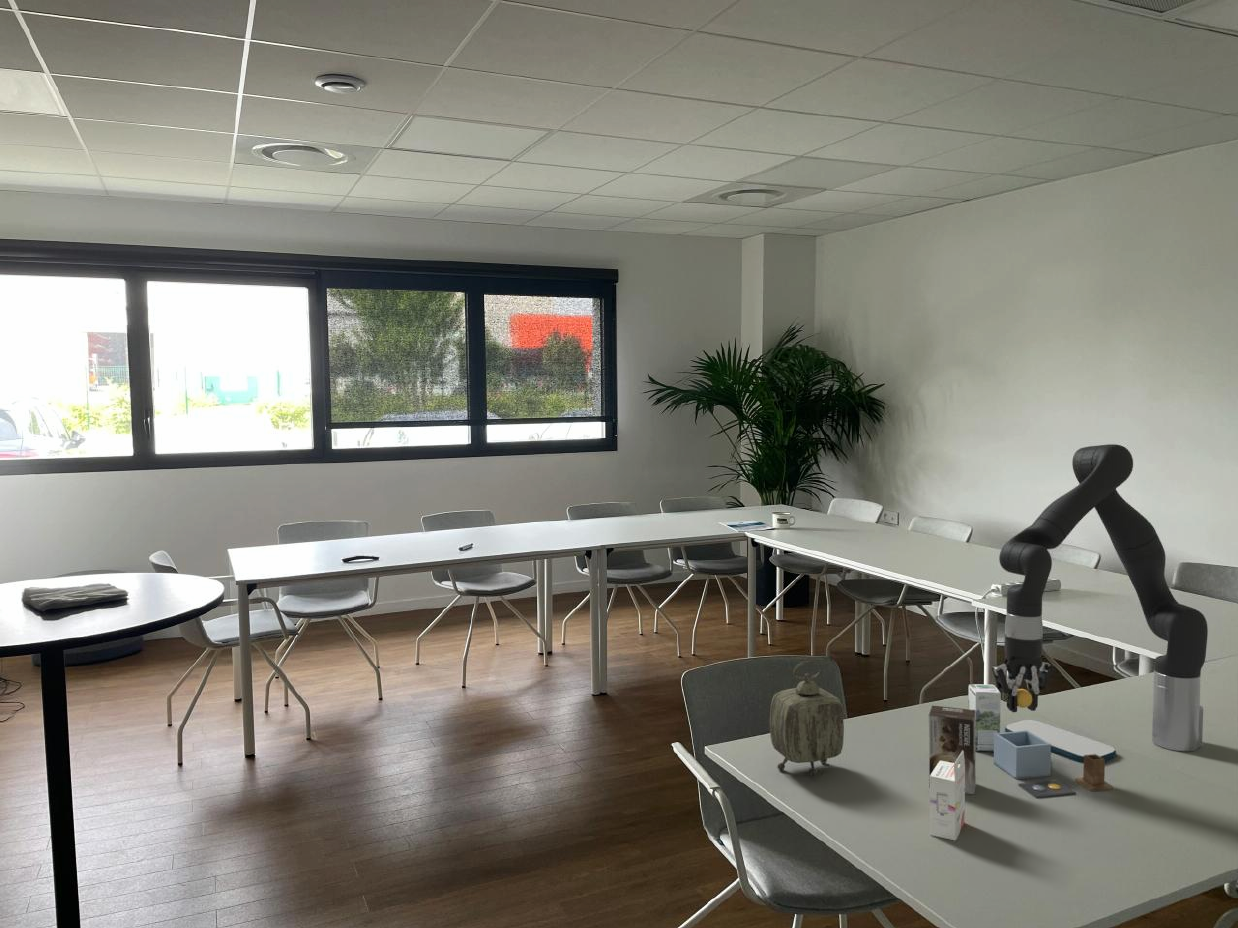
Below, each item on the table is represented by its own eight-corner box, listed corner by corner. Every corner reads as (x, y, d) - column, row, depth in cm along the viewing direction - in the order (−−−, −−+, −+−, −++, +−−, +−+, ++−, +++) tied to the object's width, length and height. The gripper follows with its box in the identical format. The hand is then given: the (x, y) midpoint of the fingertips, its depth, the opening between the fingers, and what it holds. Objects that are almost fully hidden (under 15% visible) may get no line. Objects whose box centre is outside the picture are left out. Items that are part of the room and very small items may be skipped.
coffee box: (976, 782, 190) (976, 709, 188) (974, 795, 184) (975, 719, 182) (931, 776, 193) (931, 704, 192) (928, 788, 188) (928, 713, 186)
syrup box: (992, 742, 211) (992, 683, 210) (1000, 752, 205) (1001, 691, 204) (967, 742, 212) (968, 682, 210) (974, 752, 206) (975, 691, 205)
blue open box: (1026, 760, 200) (1027, 730, 200) (1050, 775, 192) (1050, 744, 192) (993, 763, 199) (994, 733, 198) (1016, 779, 191) (1016, 747, 190)
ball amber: (1024, 703, 197) (1025, 685, 197) (1036, 709, 193) (1036, 691, 193) (1008, 704, 196) (1008, 686, 196) (1019, 710, 192) (1019, 692, 192)
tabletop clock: (826, 759, 203) (826, 652, 201) (848, 775, 195) (848, 663, 193) (769, 768, 199) (768, 659, 197) (789, 785, 190) (788, 671, 188)
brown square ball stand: (1095, 778, 190) (1096, 751, 190) (1112, 788, 186) (1113, 760, 185) (1075, 780, 190) (1075, 753, 189) (1091, 790, 185) (1091, 763, 184)
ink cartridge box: (938, 816, 175) (939, 744, 174) (965, 822, 172) (966, 749, 171) (928, 835, 168) (929, 759, 167) (956, 841, 165) (956, 765, 164)
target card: (1056, 781, 189) (1056, 778, 189) (1075, 793, 183) (1075, 791, 183) (1018, 785, 188) (1018, 782, 188) (1036, 797, 182) (1036, 795, 182)
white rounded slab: (1121, 757, 202) (1122, 749, 202) (1091, 768, 196) (1091, 760, 196) (1029, 725, 222) (1029, 717, 222) (999, 734, 217) (999, 726, 217)
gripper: (1042, 627, 198) (1040, 702, 200) (983, 631, 196) (982, 706, 197) (1064, 636, 191) (1062, 713, 192) (1004, 640, 189) (1002, 718, 190)
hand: (1021, 709), depth 195 cm, fingers closed on ball amber, 4 cm apart
